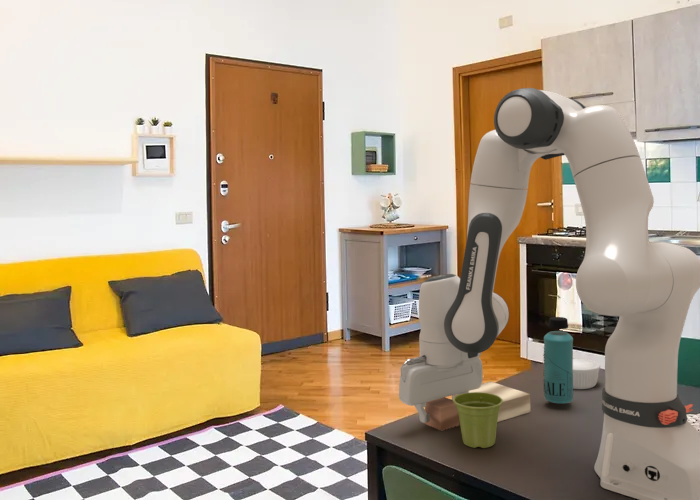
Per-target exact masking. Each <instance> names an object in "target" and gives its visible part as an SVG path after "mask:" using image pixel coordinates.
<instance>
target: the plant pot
mask: <svg viewBox="0 0 700 500" xmlns="http://www.w3.org/2000/svg"><path fill="white" fill-rule="evenodd" d="M453 402H454V403H455V404H456V408H457V410H458V414H459V426H460V433H461V438H462V443H463V444H464V445H466V446H467V447H469V448H474V449H475V448H478V447H479V448H482V449H486V448H490V447H492V446H494V445H495V443H496V438H497V437H496V436H497V427H498V422H497V420H498V413H499V410H500V405H501V404H502V403H503V399H502V398H501V397H499V396H497V395H494V394H489V393H482V392H470V393H463V394H459V395H457V396H455V397H454V398H453Z"/></svg>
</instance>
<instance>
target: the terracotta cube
mask: <svg viewBox="0 0 700 500" xmlns="http://www.w3.org/2000/svg"><path fill="white" fill-rule="evenodd" d="M424 409H425V411H426V412H427V413H429V414H430V421H429V422H426V423H424V424H425V425H427V426H429V427H431V426H432V427H431V428H433V427H434V428H433V429H436V430H438V431H440V430H442V431H445V429H446V430H449V429H452V428H455V427H454V426H456V427H459V426H460V420H459V414H458V410H457V408H456V404H455V403H454V402H453V400H452V398H449V397H444V398H440V399H436V400H432V401H429V402H426V407H424ZM458 425H459V426H458ZM451 427H452V428H451ZM448 428H449V429H448Z"/></svg>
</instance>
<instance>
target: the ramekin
mask: <svg viewBox="0 0 700 500" xmlns="http://www.w3.org/2000/svg"><path fill="white" fill-rule="evenodd" d="M600 370H601V364H600V363H599V362H597V361H596V360H592V359H588V358H576V357H573V390H589V389H592V388H594V387H595V386H596V385H597V383H598V379H599V373H600Z"/></svg>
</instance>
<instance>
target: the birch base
mask: <svg viewBox="0 0 700 500" xmlns="http://www.w3.org/2000/svg"><path fill="white" fill-rule="evenodd" d="M470 392H482V393H489V394H494V395H497V396H499V397H501V398H502V399H503V403H502V404H501V405H500V410H499V413H498V420H497V423H499V422H502V421H504V420H508V419H512V418H515V417H519V416H522V415H525V414H528V413H531V394H530V393H528V392H525V391H522V390H518V389H515V388H512V387H509V386H507V385H506V386H505V385H502V384H500V383H497V382H494V381H488V382H482V384H481V386H480V388H478V389H474V390H471V391H469V393H470ZM457 395H458V394H455V395H451V400H453V398H454V397H455V396H457Z"/></svg>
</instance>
